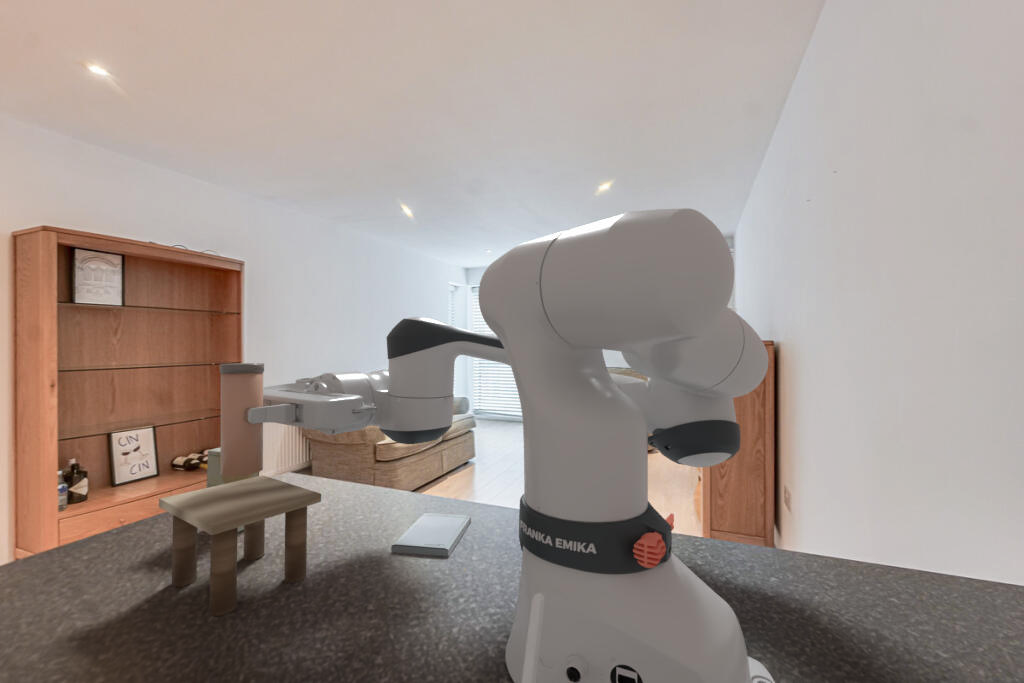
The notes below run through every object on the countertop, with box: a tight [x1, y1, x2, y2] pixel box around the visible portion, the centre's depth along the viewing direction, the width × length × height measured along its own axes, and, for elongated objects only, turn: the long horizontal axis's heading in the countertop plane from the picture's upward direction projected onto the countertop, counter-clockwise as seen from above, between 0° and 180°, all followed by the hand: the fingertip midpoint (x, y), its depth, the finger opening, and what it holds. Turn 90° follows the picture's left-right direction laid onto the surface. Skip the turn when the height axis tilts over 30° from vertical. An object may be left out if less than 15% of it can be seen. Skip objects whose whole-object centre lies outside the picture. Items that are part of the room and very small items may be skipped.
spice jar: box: [219, 362, 265, 477], centre depth 54 cm, size 5×5×13 cm
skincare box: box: [205, 446, 260, 534], centre depth 70 cm, size 6×4×12 cm
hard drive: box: [390, 512, 472, 557], centre depth 67 cm, size 2×8×12 cm
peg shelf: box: [158, 475, 322, 617], centre depth 54 cm, size 14×12×10 cm
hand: (235, 413), depth 53 cm, fingers closed on spice jar, 4 cm apart
